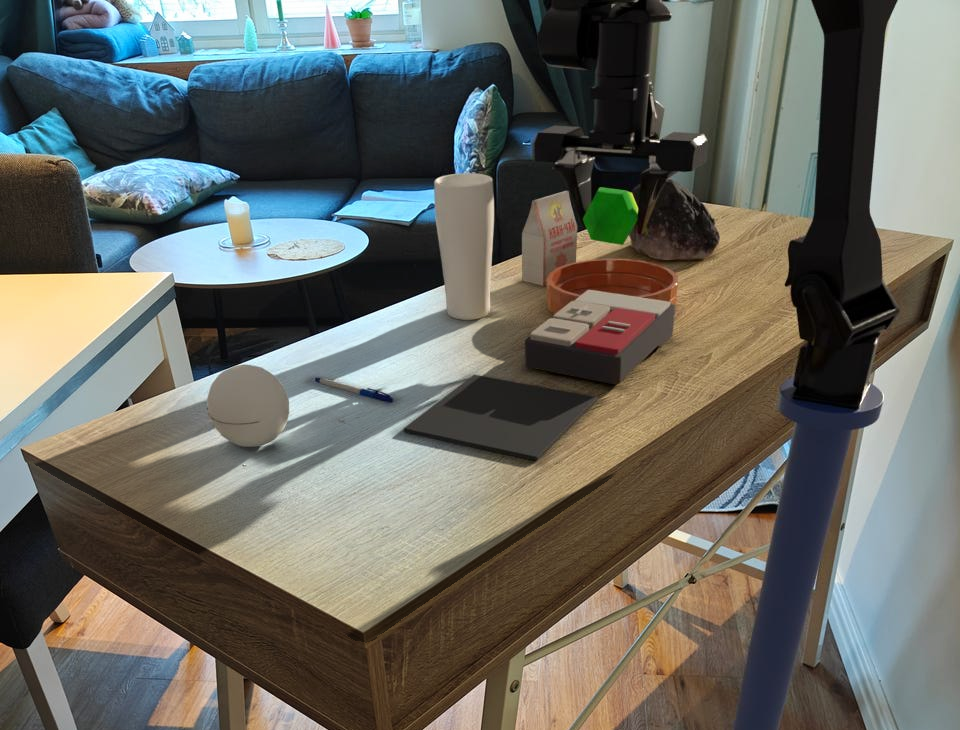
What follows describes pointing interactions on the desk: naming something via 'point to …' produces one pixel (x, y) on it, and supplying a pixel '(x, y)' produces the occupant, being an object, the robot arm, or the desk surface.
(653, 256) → the crystal cluster
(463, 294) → the drinking glass
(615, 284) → the bowl
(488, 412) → the mat
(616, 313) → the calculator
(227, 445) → the desk surface
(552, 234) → the white gabled box
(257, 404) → the seamed sphere
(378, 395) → the ballpoint pen
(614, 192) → the green polyhedron
